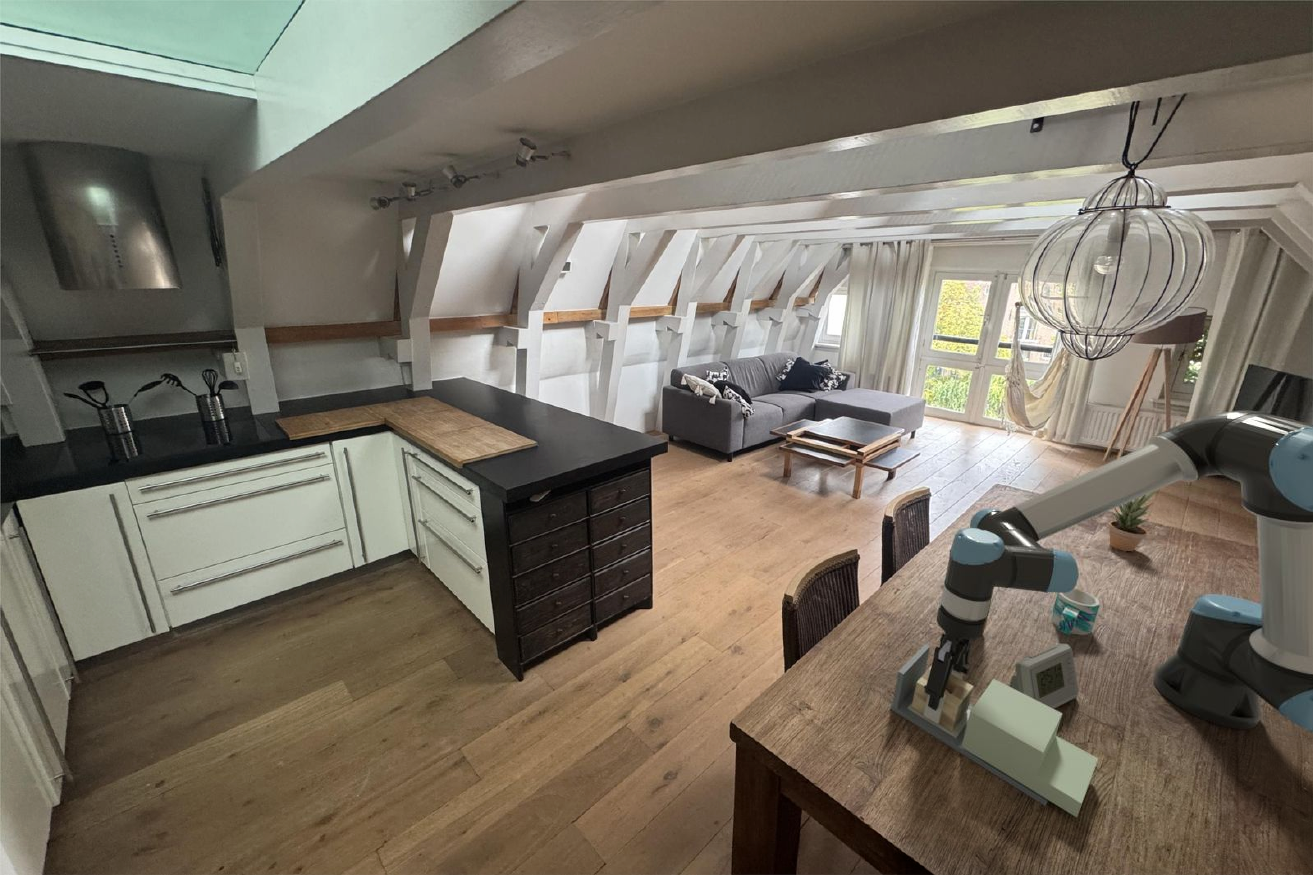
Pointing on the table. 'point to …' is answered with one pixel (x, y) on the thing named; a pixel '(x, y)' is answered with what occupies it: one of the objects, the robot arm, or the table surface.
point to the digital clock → (1047, 676)
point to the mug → (1075, 612)
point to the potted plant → (1129, 525)
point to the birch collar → (946, 699)
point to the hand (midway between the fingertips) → (940, 707)
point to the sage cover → (1028, 745)
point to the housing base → (952, 738)
